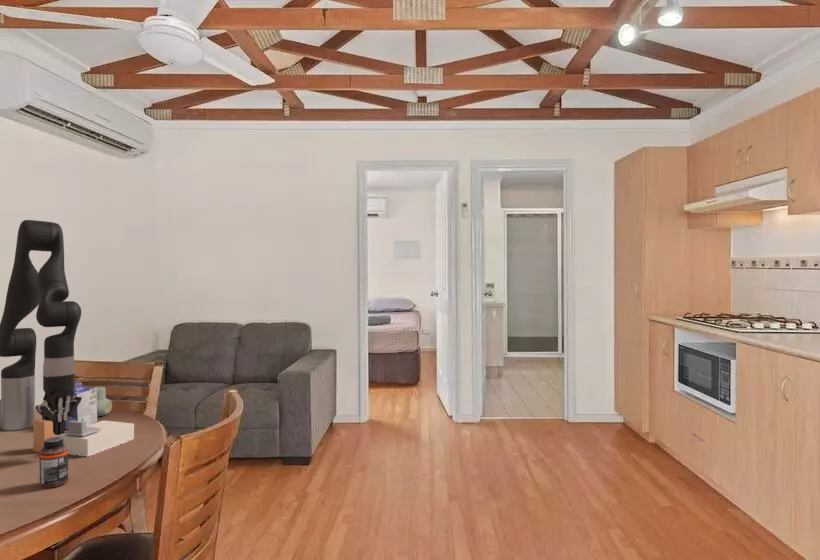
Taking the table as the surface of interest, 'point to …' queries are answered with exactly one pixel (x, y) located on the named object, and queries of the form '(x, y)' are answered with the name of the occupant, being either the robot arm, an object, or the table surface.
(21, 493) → the table surface
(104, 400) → the air freshener
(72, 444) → the socket
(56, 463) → the supplement bottle
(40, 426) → the plug
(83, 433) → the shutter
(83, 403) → the ink cartridge box
